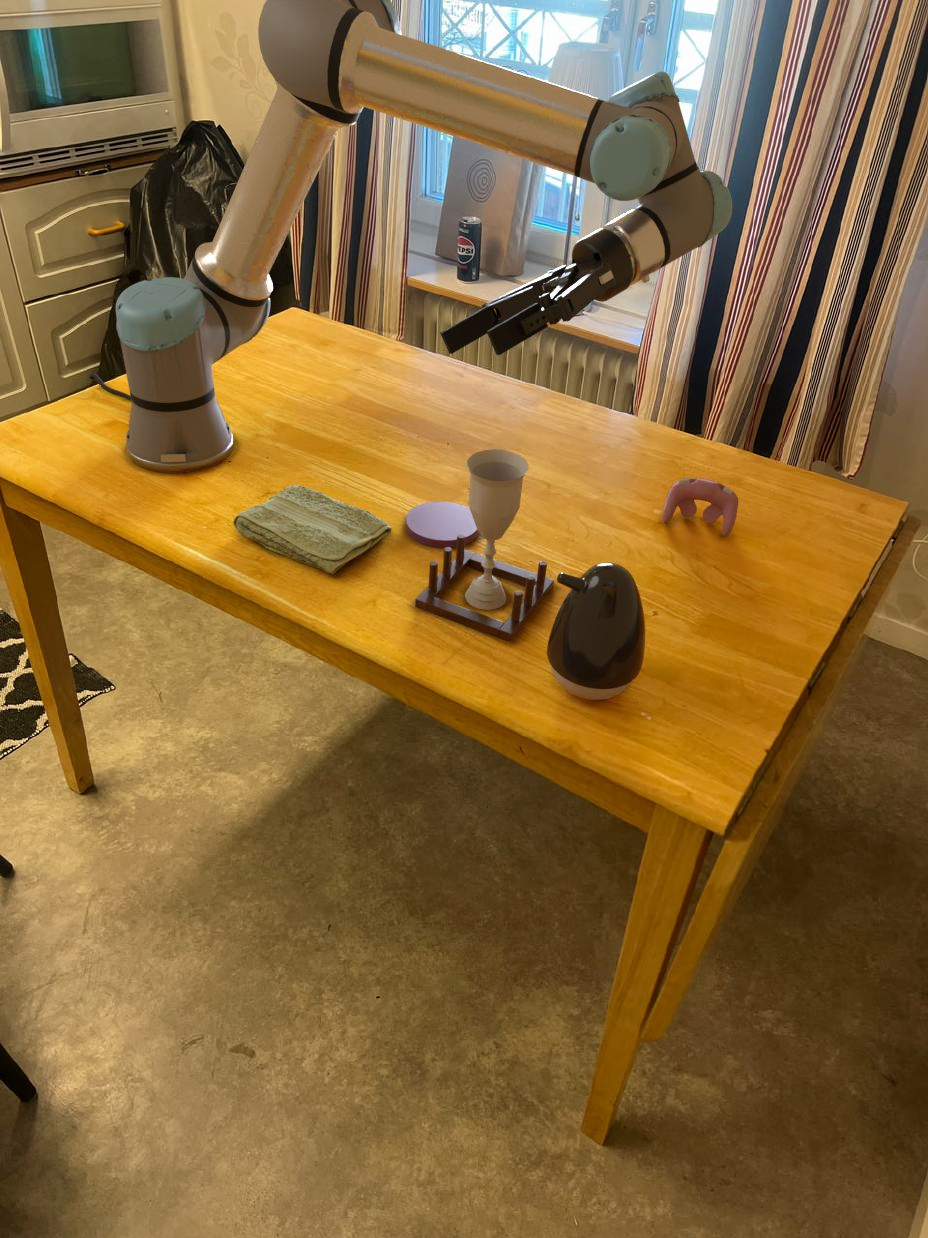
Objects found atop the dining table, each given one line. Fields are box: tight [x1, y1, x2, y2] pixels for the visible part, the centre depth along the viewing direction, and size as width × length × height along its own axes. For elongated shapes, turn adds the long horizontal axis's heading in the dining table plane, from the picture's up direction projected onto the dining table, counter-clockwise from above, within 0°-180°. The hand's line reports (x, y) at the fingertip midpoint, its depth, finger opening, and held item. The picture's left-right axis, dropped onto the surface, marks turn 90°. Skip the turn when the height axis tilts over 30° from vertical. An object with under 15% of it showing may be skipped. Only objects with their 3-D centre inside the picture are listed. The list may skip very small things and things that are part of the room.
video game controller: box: [662, 477, 739, 537], centre depth 124 cm, size 10×5×7 cm, turn 71°
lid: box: [405, 500, 480, 549], centre depth 120 cm, size 10×10×1 cm
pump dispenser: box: [546, 562, 646, 701], centre depth 92 cm, size 10×10×15 cm
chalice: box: [464, 449, 529, 611], centre depth 103 cm, size 7×7×18 cm
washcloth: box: [232, 484, 392, 575], centre depth 115 cm, size 13×18×3 cm
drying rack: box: [414, 534, 555, 643], centre depth 107 cm, size 13×13×5 cm
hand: (467, 343), depth 101 cm, fingers open, 13 cm apart
